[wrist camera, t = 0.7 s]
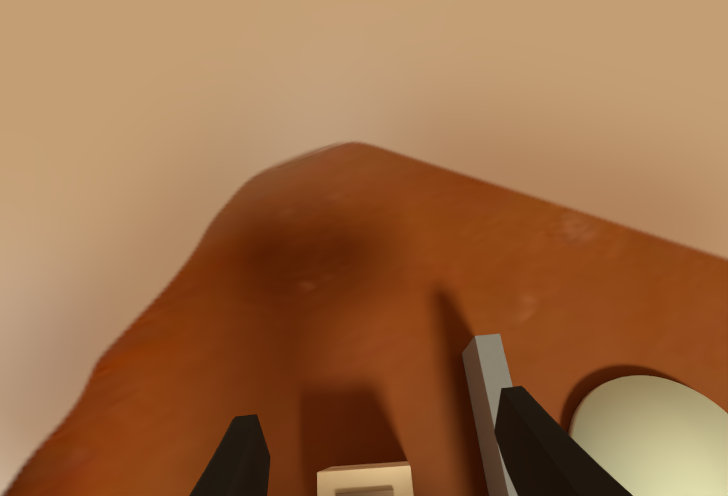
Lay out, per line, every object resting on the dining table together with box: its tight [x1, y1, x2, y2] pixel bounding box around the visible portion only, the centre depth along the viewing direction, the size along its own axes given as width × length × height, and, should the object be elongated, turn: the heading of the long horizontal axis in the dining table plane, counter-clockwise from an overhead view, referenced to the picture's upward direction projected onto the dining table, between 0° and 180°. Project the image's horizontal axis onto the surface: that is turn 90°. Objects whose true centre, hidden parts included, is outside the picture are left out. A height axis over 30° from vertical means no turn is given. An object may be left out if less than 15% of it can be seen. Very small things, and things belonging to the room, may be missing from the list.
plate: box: [568, 375, 728, 496], centre depth 22 cm, size 11×11×1 cm
